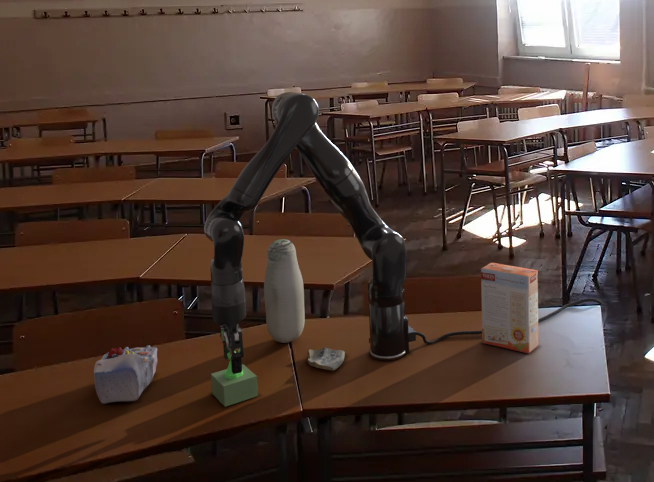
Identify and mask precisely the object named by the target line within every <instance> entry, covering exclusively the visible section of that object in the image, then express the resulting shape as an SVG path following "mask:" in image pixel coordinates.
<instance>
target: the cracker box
mask: <svg viewBox="0 0 654 482" xmlns="http://www.w3.org/2000/svg"><path fill="white" fill-rule="evenodd" d="M538 271H539V270H537V269H532V268H526V267H520V266H513V265H509V264H503V263H496V262H489V263H487V264H486V265H485V266H483V267H481V268H480V279H481V280H480V287H481V289H480V290H481V294H480V295H481V296H480V297H481V331H482V334H481V340H482V344H485V345H486V344H487V345H490V346H493V347H497V348H503V349H507V350H512V351H515V352H521V353H524V354H530V353H531V352H533V351H534V350H535V349H537V348H538V347H539V323H538V319H539V280H538V279H539V275H538Z"/></svg>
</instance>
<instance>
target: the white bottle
mask: <svg viewBox="0 0 654 482" xmlns="http://www.w3.org/2000/svg"><path fill="white" fill-rule="evenodd" d="M263 295H264V296H263V297H264V306H265V321H266V330H267V332H268V334H269V336H271V338H272V339H273V340H274V341H276V342H277V343H281V344H287V343H291V342H293V341H295V340H297V339H298V338H300V336H301V335H302V334H303V331H304V328H305V324H306V323H305V321H306V318H305V317H306V315H305V289H304V280H303V275H302V272H301V268H300V267H299V264H298V258H297V251H296V247H295V245H294V244H293V242H291V240H289V239H276V240H274V241H272V242H271V243H270V244H269V246H268V247H267V251H266V268H265V274H264V281H263Z"/></svg>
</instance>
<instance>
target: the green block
mask: <svg viewBox="0 0 654 482" xmlns="http://www.w3.org/2000/svg"><path fill="white" fill-rule="evenodd" d="M242 369H243V374H242V376H240V377H238V378H235V379H228V378H225V377H224V373H225V371H226V370H227V368H226V369H222V370H220V371H216V372H212V373H210V380H211V381H210V382H211V394H212V395H213V396H214V397H215V398H216V399H217V400H218V401H219V403H221V404H222V405H223V406H224V408H226V407H229V406H231V405H235V404H238V403H241V402H244V401H247V400H250V399H253V398H256V397H258V396H259V392H258V390H259V389H258V376H257V375H256V374H255V373H254V372H252V371H251V370H250V369H249V368H248V367H247V366H246V365H245V364H242Z"/></svg>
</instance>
